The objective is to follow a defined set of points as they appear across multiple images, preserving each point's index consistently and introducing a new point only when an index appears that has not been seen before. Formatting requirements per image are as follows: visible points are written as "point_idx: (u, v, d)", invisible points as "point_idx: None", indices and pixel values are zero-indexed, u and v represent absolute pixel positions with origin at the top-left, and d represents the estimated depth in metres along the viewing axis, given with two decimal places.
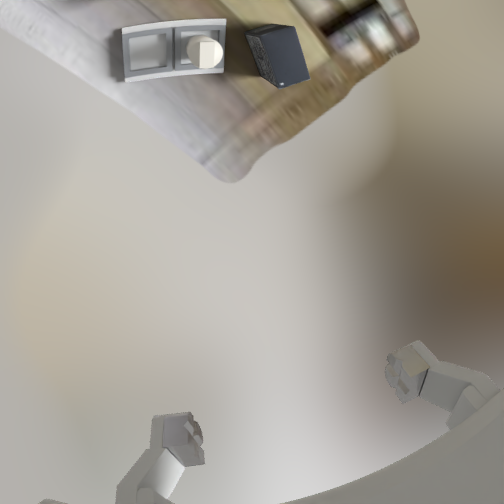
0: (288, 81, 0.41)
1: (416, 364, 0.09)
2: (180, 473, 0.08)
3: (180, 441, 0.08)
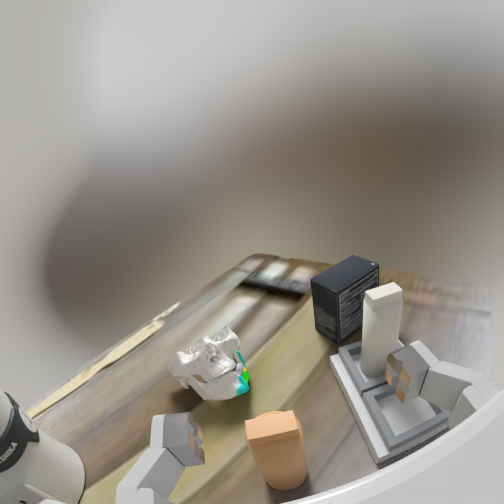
0: (367, 262, 0.44)
1: (416, 364, 0.09)
2: (180, 473, 0.08)
3: (180, 441, 0.08)
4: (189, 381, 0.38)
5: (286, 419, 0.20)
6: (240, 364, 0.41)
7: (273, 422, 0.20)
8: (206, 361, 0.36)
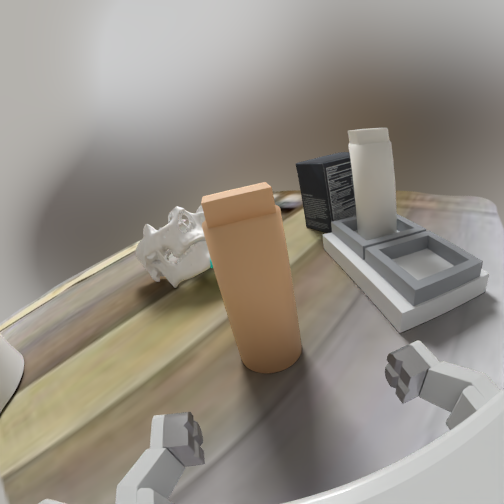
0: None
1: (416, 364, 0.09)
2: (180, 473, 0.08)
3: (180, 441, 0.08)
4: (159, 265, 0.35)
5: (256, 186, 0.17)
6: None
7: (239, 190, 0.17)
8: (178, 229, 0.33)
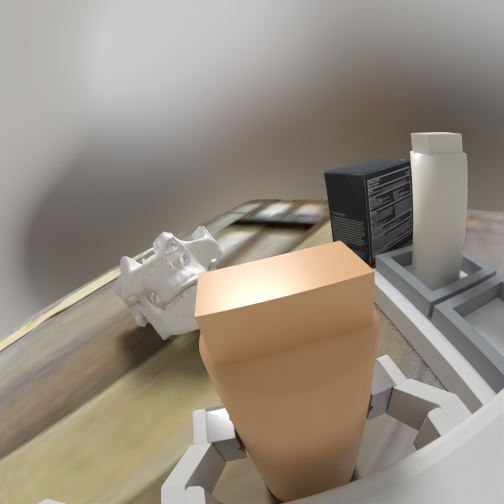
0: (394, 159, 0.31)
1: (380, 381, 0.09)
2: (222, 468, 0.08)
3: (226, 434, 0.08)
4: (143, 309, 0.26)
5: (328, 257, 0.07)
6: None
7: (288, 267, 0.07)
8: (165, 266, 0.24)
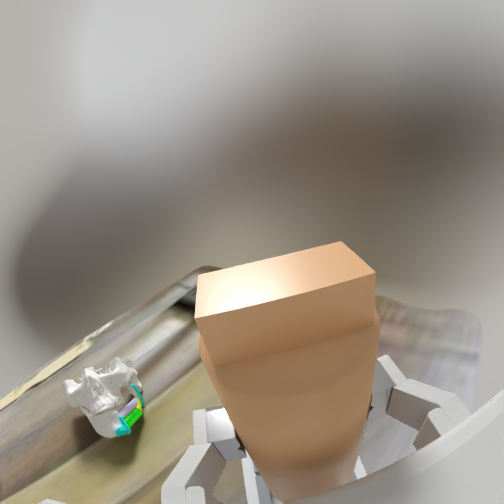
0: None
1: (380, 381, 0.09)
2: (222, 468, 0.08)
3: (226, 434, 0.08)
4: None
5: (328, 258, 0.07)
6: (134, 400, 0.32)
7: (289, 268, 0.07)
8: (87, 395, 0.27)
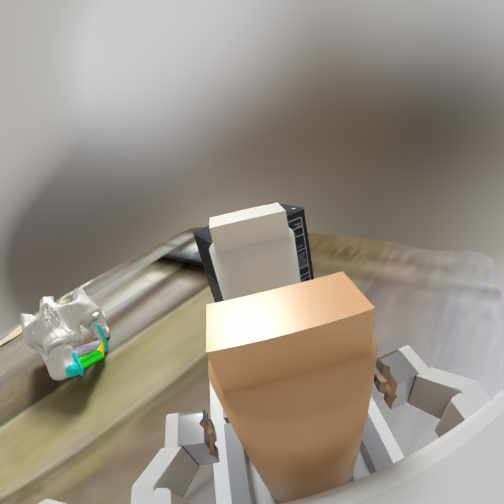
0: (286, 207, 0.30)
1: (404, 370, 0.09)
2: (194, 472, 0.08)
3: (196, 439, 0.08)
4: None
5: (331, 291, 0.07)
6: (96, 341, 0.28)
7: (292, 301, 0.07)
8: (42, 327, 0.23)
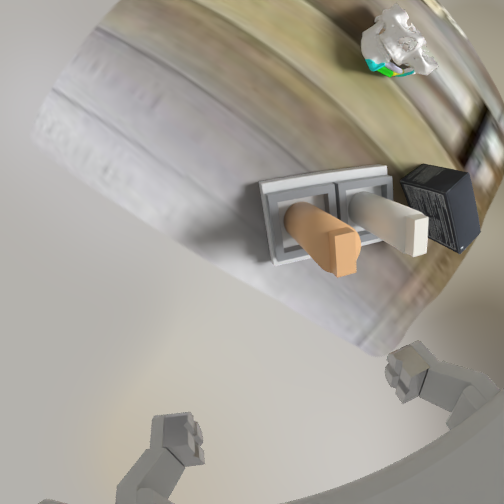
0: (466, 242, 0.32)
1: (416, 364, 0.09)
2: (180, 473, 0.08)
3: (180, 441, 0.08)
4: (380, 22, 0.26)
5: (348, 267, 0.25)
6: (400, 71, 0.30)
7: (347, 257, 0.24)
8: (399, 36, 0.24)
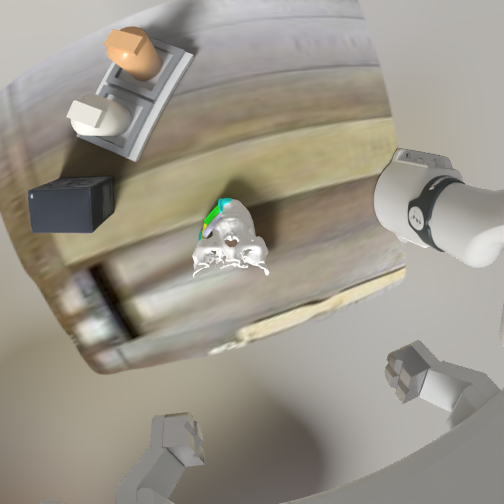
0: (32, 205, 0.29)
1: (416, 364, 0.09)
2: (180, 473, 0.08)
3: (180, 441, 0.08)
4: None
5: (112, 39, 0.21)
6: (205, 233, 0.43)
7: (120, 41, 0.21)
8: (240, 237, 0.39)
